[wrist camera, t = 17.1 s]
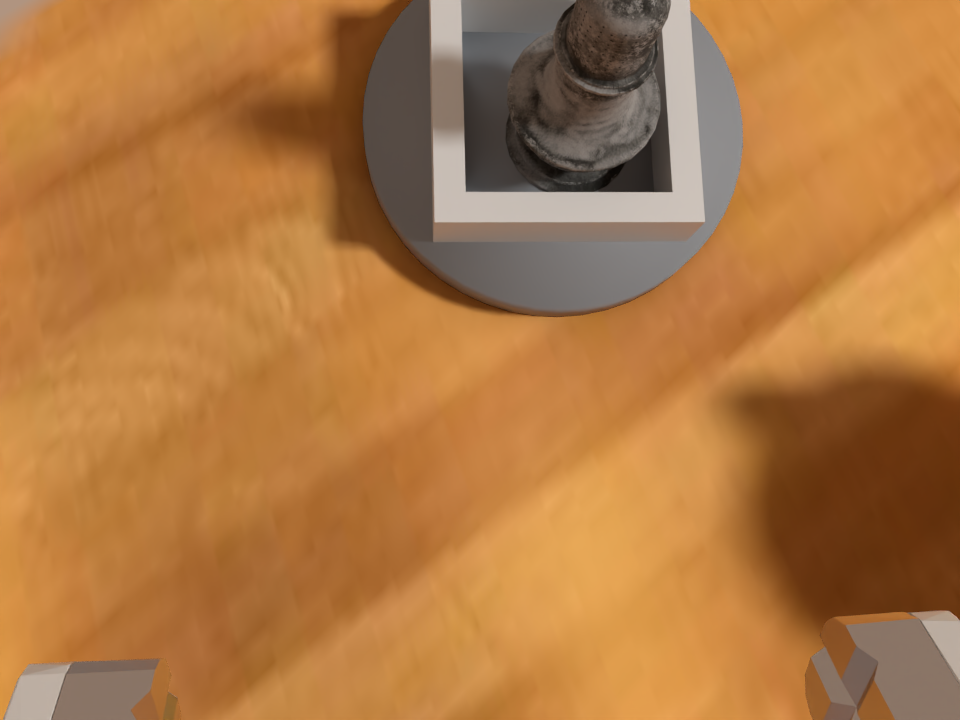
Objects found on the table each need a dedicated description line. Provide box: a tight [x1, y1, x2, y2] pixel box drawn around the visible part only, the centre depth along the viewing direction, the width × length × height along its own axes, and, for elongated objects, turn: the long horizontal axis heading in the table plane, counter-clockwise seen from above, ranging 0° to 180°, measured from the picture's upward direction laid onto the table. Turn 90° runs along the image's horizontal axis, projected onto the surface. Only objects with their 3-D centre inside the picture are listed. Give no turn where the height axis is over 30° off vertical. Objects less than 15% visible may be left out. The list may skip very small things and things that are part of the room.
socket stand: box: [363, 0, 743, 317], centre depth 37 cm, size 16×16×4 cm
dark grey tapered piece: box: [506, 0, 671, 192], centre depth 31 cm, size 6×6×12 cm
